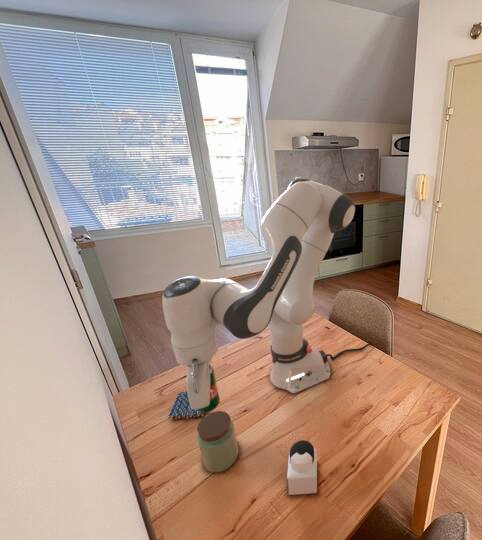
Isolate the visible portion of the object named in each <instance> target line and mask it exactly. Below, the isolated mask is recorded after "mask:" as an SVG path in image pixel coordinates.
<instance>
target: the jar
mask: <svg viewBox="0 0 482 540" xmlns="http://www.w3.org/2000/svg"><path fill="white" fill-rule="evenodd" d="M234 425H235V424H234V422H233V420H232V419H231V416H230V414H229V413H228V412H226V411H224V410H215V411H211V412H210V413H208V414H206V415H204V416H203V417H202V419H201V420H200V421H199V422H198V425H197V428H196V431H197V437H196V438H197V443H198V446H199V447H198V448H199V451H200V455H201V459H202V463H203V465H204V468H205V469H206V470H207V471H208V472H210V473H221V472H223V471H226V470H227V469H229V468H230V467H231V466H232V465H233V464H234V463H235V462H236V460H237V458H238V455H239V446H238V440H237V436H236V431H235V426H234Z"/></svg>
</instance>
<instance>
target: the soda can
mask: <svg viewBox="0 0 482 540" xmlns="http://www.w3.org/2000/svg"><path fill="white" fill-rule="evenodd" d="M209 370H210V377H211V385H210V404H209V406H207V407H204V408H200V409H199V410H200V411H203V412H204V413H209V412H213V410H215V409H216V408H217V407H218V406H219V404H220V402H221V399H220V393H219V389H218V385H217V379H216V375H215V370H214V367H213V366H212V364H211V365H210V369H209Z"/></svg>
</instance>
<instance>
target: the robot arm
mask: <svg viewBox="0 0 482 540" xmlns="http://www.w3.org/2000/svg"><path fill="white" fill-rule="evenodd" d="M355 212H356V203H355V201H354V200H353V199H352V197H350V196H348V195H347V194H346V193H342V192H340V191H338V190H336V189H335V188H332V187H331V186H329V185H325V184H323V183H319V182H316V181H314V180H313V181H312V180H310V179H309V178H305V177H298V178H295V179H293V180H292V181H291V182H290V183H289V184H288V186H287V189H286V190H285V191H284V192H283V193H282V194H281V195H280V196H279V197H278V198H277V199H276V200H275V201H274V202H273V203H272V204H271V206H270V208H269V209H268V210H267V211H266V212H265V214H264V216H263V218H262V219H261V222H260V232H261V235H262V238H263V240H264V241H265V242H266V244H267V245H268V246H269V248H270V250H271V257H270V260H269V262H268V264H267V266H266V267H265V269H264V270H263V273H262V274H261V276H260V277H259V279H258V281H257V283H256V285H255V286H254V287H253V288H252V289H250V288H247V287H245V286H244V285H242V284H241V283H239V282H237V281H235V280H233V279H230V278H227V277H218V278H216V279H205V278H200V277H199V276H193V275H192V276H191V275H190V276H189V275H188V276H184V277H181V278H178V279H176V280H174V281H172V282H171V283H169V284H168V285H167V286H165V288H164V290H163V293H162V297H161V298H162V299H161V301H162V302H161V303H162V311H163V312H162V313H163V316H164V317H163V318H164V320H165V321H164V322H165V324H166V327H167V329H168V330H169V332H170V335H171V336H170V343H171V346H172V350H173V354H174V357H175V361H176V362H177V363H178V364H180V365H182V366H185V367H187V371H186V378H185V383H186V384H185V385H186V386H185V387H186V391H187V393H188V398H189V403H190V407H191V409H193V410H196V409H200V408H204V407H207V406H209V404H210V385H211V377H210V370H209V369H210V365H211V366H212V359H213V358H214V357H215V356H216V354H217V352H219V351H218V350H219V345H218V339H217V334H216V327H217V325H220V324H221V325H222V326H223V327H225V329H227V331H229V332H230V333H231V334H232V335H233V336H234V337H235V338H237V339H242V340H247V339H251V338H253V337H256V336H258V335H259V334H261V333H263V332H264V331H265V330H266V328H267V327H268V328H269V335H270V359H271V361H272V362H271V369H270V374H269V380H270V383H271V384H272V385H273V386H274V387H276V388H278V389H281V390H286V391H288V392H289V393H290V394H297V393H299V392H301V391H304V390H306V389H308V388H310V387H313V386H315V385H317V384H319V383H321V382H324V381H326V380H328V379H330V377H331V368H330V367H331V366H330V364H329V362H328V357H330V359H331V360H336V359H337V358H338V357H339V356H341V355H342V354H344V353H347V352H357V351H358V352H359V351H361V350H364V349H366V348H367V347H368V346H373V345H374V344H373V343H371V342H369V343H366V344H365V345H364V346H362V347H359V348H349V349H348V348H347V349H343V350H342V351H340V352H339V353H338V354H337V355H335V356H333V355H332V354H331V353H326V352H325V351H324V350H323V349H322V350H319V349H317V348H316V347H314V346H311V345H309V342H308V340H307V339H306V338H305V336H304V334H303V325H304V324H306V323H308V321H309V320H311V318H312V317H313V316H314V313H315V309H316V304H315V300H314V284H315V280H316V276H317V273H318V271H319V269H320V267H321V265H322V262H323V260H324V258H325V256H326V254H327V252H328V250H329V248H330V246H331V245H332V244H331V243H332V241H333V238H334V235H335V233H337V232H339V231H343V230H344V229H346V228H347V227H348V226H349V225H350V224H351V222H352V220H353V219H354V216H355V214H356V213H355Z"/></svg>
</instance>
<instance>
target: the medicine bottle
mask: <svg viewBox="0 0 482 540" xmlns="http://www.w3.org/2000/svg"><path fill="white" fill-rule="evenodd" d="M286 481H287V483H286V484H287V493H288V495H289V496H295V495H307V494H316V493H317V492H318V450H317V448H314V445H313V444H312V442H311V441H308V440H303V439H301V440H298V441H296V442H294V443H293V444H292V446H291V447H290V449H289V451H288V463H287V474H286Z"/></svg>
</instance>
